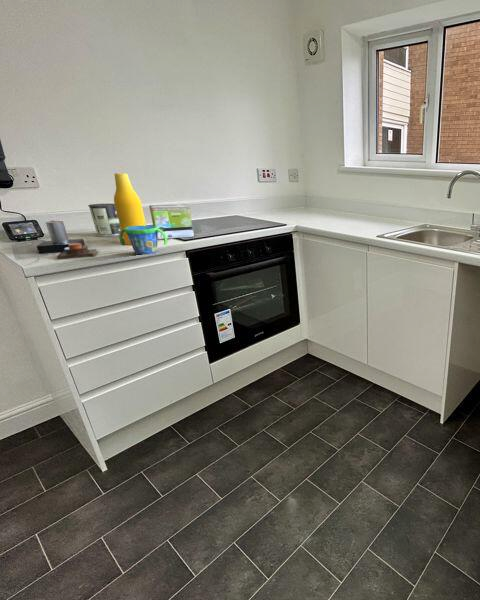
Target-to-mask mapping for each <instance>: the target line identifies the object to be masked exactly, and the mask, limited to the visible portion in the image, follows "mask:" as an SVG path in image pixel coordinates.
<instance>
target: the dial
mask: <svg viewBox="0 0 480 600" xmlns="http://www.w3.org/2000/svg"><path fill="white" fill-rule="evenodd" d="M45 226H46V228H47V231H48V234H49V237H50V241H52V243H66V242H69V240H70V238H69V236H68V233H67V230H66V226H65V223H64V221H63V220H53V219H51V220H48V221H45Z"/></svg>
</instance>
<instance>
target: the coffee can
mask: <svg viewBox="0 0 480 600" xmlns="http://www.w3.org/2000/svg"><path fill="white" fill-rule="evenodd" d="M88 208H89V211H90V214H91V218H92V222H93V226H94V229H95V232H96V236H97V237H116V236H119V235H120V232H121V227H120V223H119V219H118V215H117V212H116V208H115V204H114V203H91V204H88Z"/></svg>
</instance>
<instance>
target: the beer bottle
mask: <svg viewBox="0 0 480 600" xmlns="http://www.w3.org/2000/svg"><path fill="white" fill-rule="evenodd" d="M114 181H115V192H114V195H113V204H115V208H116V212H117V215H118V219H119V223H120V227H121V231H122V230H124V229H125V228H126V227H131V226H147V222H146V219H145V213H144V210H143V205H142V200H141V199H140V197H139V195H138V194H137V193H136V191H135V190H134V188H133V186H132V184H131V180H130V178H129V175H128V173H126V172H125V173H124V172H123V173H122V172H121V173H119V172H118V173H117V172H116V173H115V172H114ZM123 239H124V241H125V245H127V246H132V245H131V242H130V240H129V237H128V235H127V233H126V232H125V231H124V232H123Z"/></svg>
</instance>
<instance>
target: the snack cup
mask: <svg viewBox="0 0 480 600" xmlns="http://www.w3.org/2000/svg"><path fill="white" fill-rule="evenodd" d="M124 231H125V232H126V233H127V235H128V237H129V240H130V242H131V245H130V246H132V249H133V252H134V253H135V254H136V255H139V256H141V255H153V254H157V253H158V251H159V243H158V241H159V240H158V239H157V235H158V231H159V232H160V233H161V234H162V235H163V236H164V239H163V244H164V245H165V246H167V244H168V238H167V237H166V235H165V233H164V232H163V231H162V230H161V229H158V228H157V227H156V226H153V225H147V224H146V226H131V227H126V228H125V229H124V230H122V231H121V232H120V235H118V236H119V237H118V238H119V242H120V244H121V245H122V246H125V245H126V244H125V241H124V239H123V232H124Z"/></svg>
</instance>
